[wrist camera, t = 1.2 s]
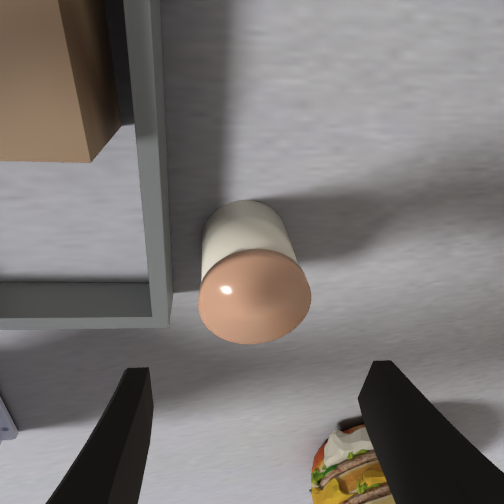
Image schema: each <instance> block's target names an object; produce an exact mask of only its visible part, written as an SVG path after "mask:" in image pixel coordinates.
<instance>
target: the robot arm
mask: <svg viewBox="0 0 504 504" xmlns="http://www.w3.org/2000/svg"><path fill="white" fill-rule="evenodd" d="M358 401H359V405H360V409H361V413H362V417H363V420H364V424H365V427H366V431H367V433H368V436H369V439H370V441H371V444H372V446H373V449H374V451H375V454H376V456H377V459H378V461H379V464H380V466H381V469H382V471H383V474H384V476H385V479H386V481H387V484H388V486H389V489H390V491H391V494H392V496H393V499H394V501H395V504H504V473H503V472H502V471H501V470H500V469H498V468H497V467H496V466H495V465H494V464H493V463H492V462H491V461H489V460H488V459H487V458H486V457H485V456H484V455H483V454H482V453H481V452H480V451H479V450H478V449H477V448H476V447H474V446H473V445H472V444H471V443H470V442H469V441H468V440H467V439H466V438H465V437H464V436H463V435H462V434H461V433H460V432H459V431H458V430H457V429H456V428H455V427H454V426H453V425H452V424H451V423H450V422H449V421H448V420H447V419H446V418H445V417H444V416H443V415H442V414H441V413H440V412H439V411H438V410H437V409H436V408H435V407H434V406H433V405H432V404H431V403H430V402H429V401H428V400H427V398H426V397H425V396H424V395H423V394H422V393H421V392H420V391H419V390H418V389H417V388H416V387H415V386H414V385H413V383H412V382H411V381H410V380H409V379H408V378H407V377H406V376H405V375H404V374H403V373H402V372H401V371H400V369H399V368H398V367H397V366H396V365H395V364H394V363H393V362H392V361H391V360H385V361H373V363H372V366H371V368H370V370H369V373H368V375H367V377H366V380H365V382H364V385H363V387H362V389H361V392H360V394H359V396H358ZM153 408H154V407H153V398H152V390H151V381H150V373H149V367H146V368H127V369H126V370H125V371H124V373H123V375H122V378H121V380H120V382H119V384H118V386H117V388H116V390H115V392H114V394H113V396H112V398H111V400H110V402H109V404H108V405H107V407H106V409H105V411H104V413H103V415H102V416H101V418H100V420H99V422H98V423H97V425H96V427H95V428H94V430H93V432H92V433H91V435H90V437H89V439H88V440H87V442H86V444H85V445H84V447H83V448H82V450H81V452H80V453H79V455H78V456H77V458H76V459H75V461H74V462H73V464H72V466H71V467H70V469H69V470H68V472H67V473H66V475H65V476H64V478H63V479H62V481H61V482H60V484H59V485H58V487H57V488H56V490H55V491H54V492H53V494H52V495H51V497H50V498H49V500H48V501H47V502H46V504H138V499H139V494H140V490H141V485H142V480H143V475H144V470H145V465H146V460H147V455H148V450H149V445H150V437H151V428H152V418H153ZM17 435H18V430H17V428H16V426H15V425H14V423H13V421H12V419H11V417H10V415H9V413H8V411H7V409H6V407H5V405H4V403H3V401H2V399H1V397H0V444H1V442H2V440H13V439H15V438H16V437H17Z"/></svg>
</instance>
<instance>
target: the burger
mask: <svg viewBox="0 0 504 504" xmlns="http://www.w3.org/2000/svg"><path fill="white" fill-rule="evenodd" d="M311 483H312V489H310V490H309V491H311V495H312V499H313V504H395V501H394V499H393V496H392V494H391V491H390V489H389V486H388V484H387V481H386V479H385V476H384V474H383V471H382V469H381V466H380V464H379V461H378V459H377V456H376V454H375V451H374V449H373V446H372V444H371V441H370V439H369V436H368V433H367V431H366V427H365V424H363V425H359V426H356V427H353V428H351V429H348V430H346V431H344V432H342V431H339V430H335V431H333V432H332V433H331V434H330V435H329V439H328V441H327V442H326V443H325V444H324V445H323V446H322V447H320V449H319V450H318V452H317V453H316V455H315V457H314V462H313V467H312V473H311Z"/></svg>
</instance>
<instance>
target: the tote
mask: <svg viewBox="0 0 504 504" xmlns="http://www.w3.org/2000/svg"><path fill="white" fill-rule="evenodd" d="M123 3H124V14H125V25H126V36H127V47H128V58H129V69H130V79H131V90H132V101H133V112H134V123H135V134H136V145H137V155H138V166H139V177H140V188H141V199H142V210H143V221H144V232H145V242H146V253H147V264H148V275H149V283H5V282H0V330H37V329H120V328H169V322H170V315H171V307H172V299H173V278H172V256H171V233H170V211H169V188H168V166H167V143H166V121H165V99H164V76H163V54H162V31H161V9H160V0H123Z"/></svg>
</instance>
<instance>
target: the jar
mask: <svg viewBox="0 0 504 504" xmlns="http://www.w3.org/2000/svg"><path fill="white" fill-rule="evenodd" d="M310 304H311V291H310V287H309V284H308V282H307V279H306V276H305V274H304V272H303V270H302V269H301V267H300V266H299V264H298V262H297V259H296V256H295V254H294V251H293V248H292V246H291V243H290V240H289V238H288V235H287V232H286V230H285V227H284V224H283V222H282V220H281V218H280V216H279V215H278V214H277V213H276V212H275V211H274V210H273V209H272V208H270V207H269V206H267V205H265V204H263V203H260V202H257V201H250V200H241V201H235V202H231V203H229V204H226V205H224V206H222V207H220V208H219V209H218V210H216V211H215V212H214V213H213V214H212V215H211V216H210V218H209V219H208V221H207V222H206V224H205V227H204V230H203V238H202V279H201V284H200V288H199V303H198V307H199V314H200V317H201V319H202V321H203V323H204V324H205V326H206V327H207V328H208V329H209V330H210V331H211V332H212V333H213V334H215V335H216V336H218V337H220V338H222V339H224V340H227V341H230V342H234V343H239V344H259V343H265V342H269V341H272V340H275V339H278V338H280V337H282V336H284V335H286V334H288V333H289V332H291V331H292V330H293V329H295V328H296V327H297V326H298V325H299V324H300V323H301V322H302V321H303V319H304V318H305V316H306V315H307V313H308V311H309V308H310Z"/></svg>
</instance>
